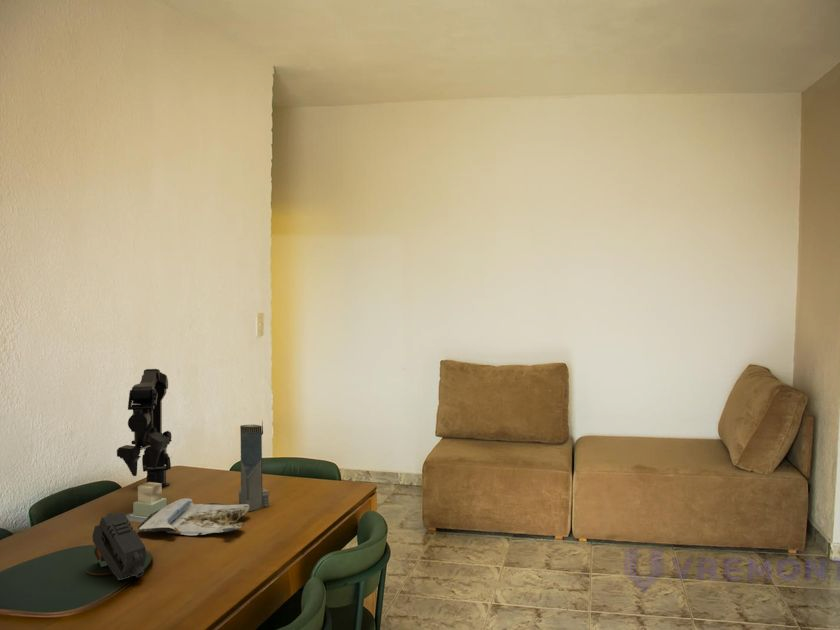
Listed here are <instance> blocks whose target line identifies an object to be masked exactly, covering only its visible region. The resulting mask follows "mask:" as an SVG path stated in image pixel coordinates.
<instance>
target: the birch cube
mask: <svg viewBox="0 0 840 630" xmlns="http://www.w3.org/2000/svg"><path fill="white" fill-rule="evenodd" d="M162 489H163V488H162V483H153V482H147V481H146V482H145V483H142V484H140V485H138V486H137V501H138V502H142V503H150V504H152V503H154V502H156V501H158V500H161V499H162V498H163V494H162V493H163V491H162Z"/></svg>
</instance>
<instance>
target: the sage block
mask: <svg viewBox="0 0 840 630" xmlns="http://www.w3.org/2000/svg"><path fill="white" fill-rule="evenodd" d="M167 500H168V499H167V497H162V499H161V500H158V501H156V502H154V503H152V504H150V503H142V502H138V500H136V501H134V502H133V503H132V504H133V505H132V506H133V508H132V509H133V511H132V512H133V514H134V515H136V516H143V517H149V516H150V515H151V514H152V513H154V512H156V511H158V510H160V509H162V508H164V507H166V506H167V505H168V503H167V502H168V501H167Z"/></svg>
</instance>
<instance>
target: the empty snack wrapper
mask: <svg viewBox="0 0 840 630" xmlns="http://www.w3.org/2000/svg"><path fill="white" fill-rule="evenodd" d="M249 508H250V506H249V505H248V504H239V503H237V504H231V503H230V504H229V503H228V504H227V503H219V502H210V503H197V504H196V503H193V499H192V498H187V497H185V498H181V499H178V500H175V501H173V502H172V503H169V504H167V506H166V507H164V508H162V509H160V510H158V511H156V512H154V513H152V514H151V515H150V516H149V517H148V518H147V519H145V520H144V521H143V522H142V523H141V522H140V524H139V525H138V526H137V527H136V530H138V531H139V532H153V533H154V532H164V531H165V532H166V533H167V534H176V535H184V536H202V535H207V534H208V535H209V534H212V533H213V534H215V533H229V532H233V531H235V530H239V529H240V528H242V527H243V526H244V525H245V523H244V522H238V521H239V520H240V519H241V517H243V516H244V515H246V514H247V513H248V512H247V510H248V509H249ZM175 528H176V529H177V530H176V529H175ZM177 531H178V532H177Z"/></svg>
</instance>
